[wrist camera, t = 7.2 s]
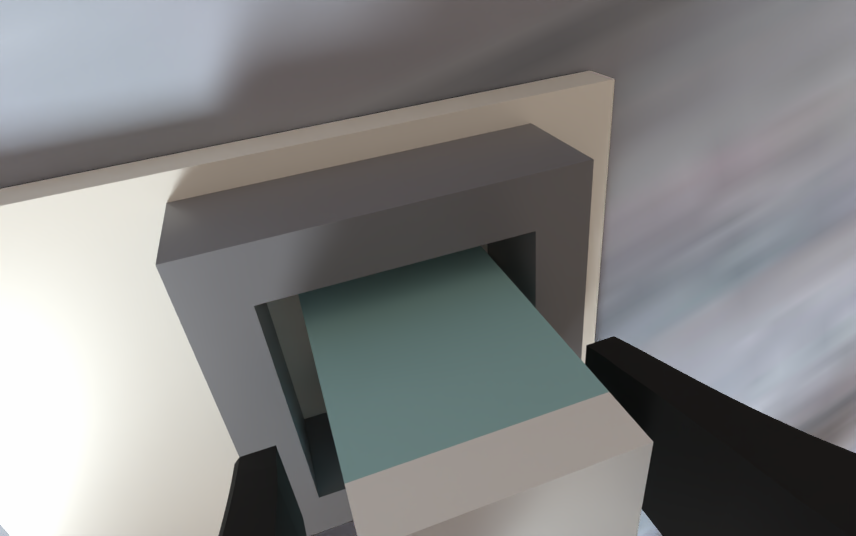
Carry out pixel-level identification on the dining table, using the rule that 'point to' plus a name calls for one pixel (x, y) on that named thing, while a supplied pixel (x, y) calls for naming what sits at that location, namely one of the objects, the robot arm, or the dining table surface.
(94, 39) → the dining table surface
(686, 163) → the dining table surface
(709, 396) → the robot arm
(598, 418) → the block
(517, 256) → the outlet plate
